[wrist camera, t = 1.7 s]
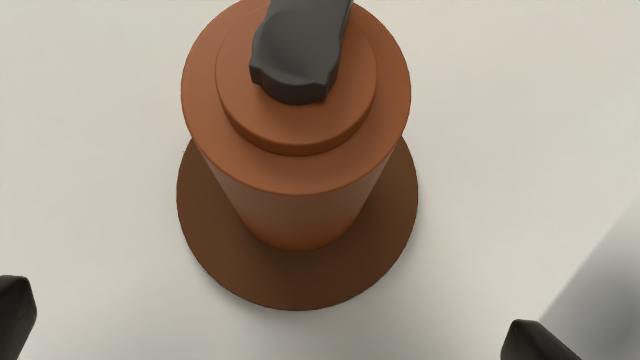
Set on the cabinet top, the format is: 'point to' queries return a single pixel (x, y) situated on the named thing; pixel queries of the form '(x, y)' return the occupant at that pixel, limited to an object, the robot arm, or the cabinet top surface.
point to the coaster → (297, 266)
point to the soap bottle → (296, 113)
